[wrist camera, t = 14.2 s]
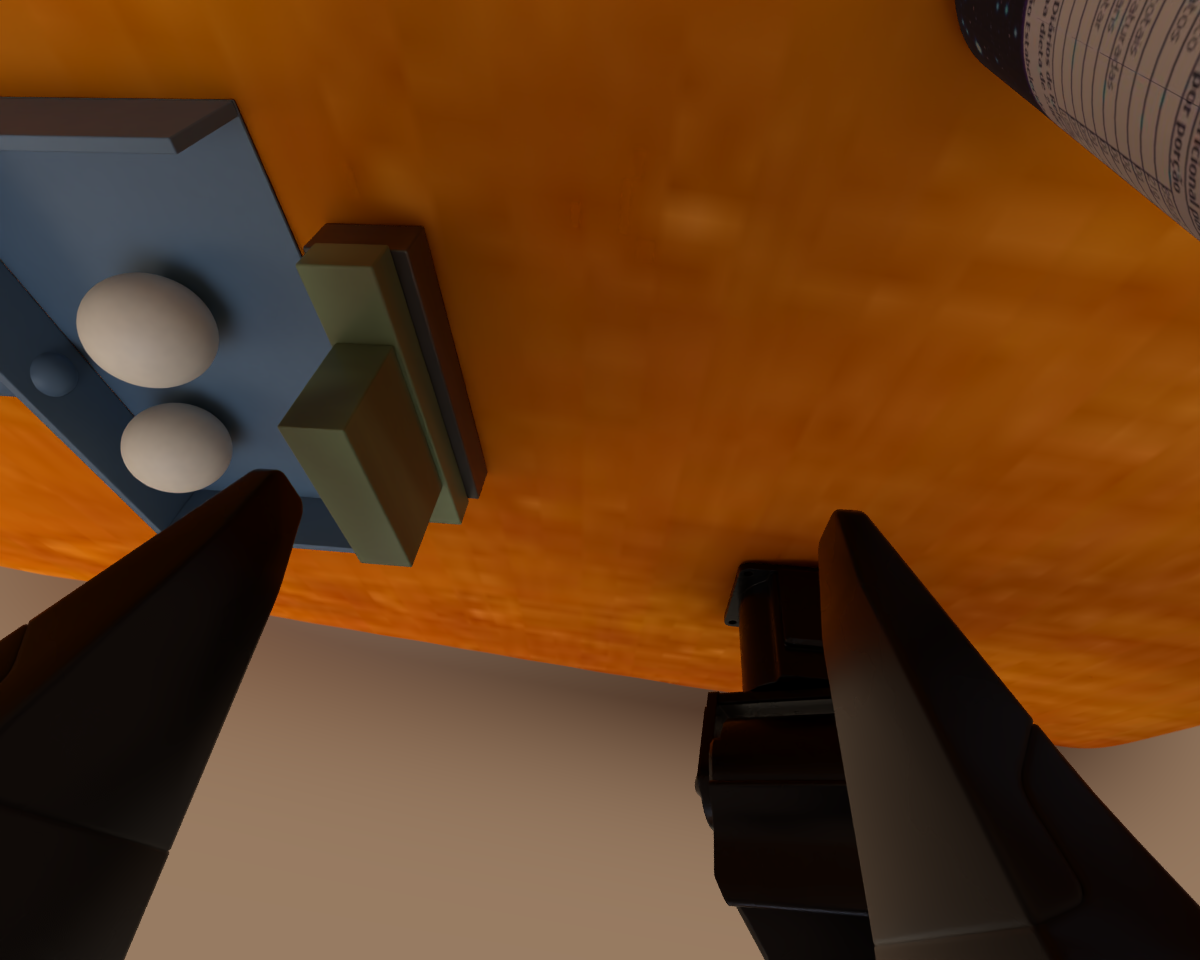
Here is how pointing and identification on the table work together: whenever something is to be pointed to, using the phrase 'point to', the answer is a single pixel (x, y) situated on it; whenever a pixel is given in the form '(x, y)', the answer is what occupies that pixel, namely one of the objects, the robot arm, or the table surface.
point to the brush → (383, 394)
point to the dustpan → (162, 247)
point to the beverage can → (1107, 82)
